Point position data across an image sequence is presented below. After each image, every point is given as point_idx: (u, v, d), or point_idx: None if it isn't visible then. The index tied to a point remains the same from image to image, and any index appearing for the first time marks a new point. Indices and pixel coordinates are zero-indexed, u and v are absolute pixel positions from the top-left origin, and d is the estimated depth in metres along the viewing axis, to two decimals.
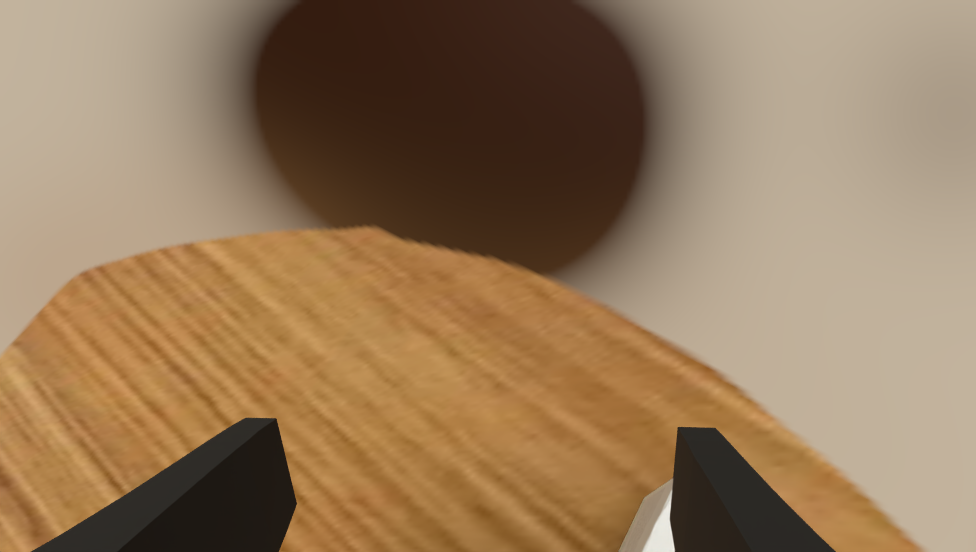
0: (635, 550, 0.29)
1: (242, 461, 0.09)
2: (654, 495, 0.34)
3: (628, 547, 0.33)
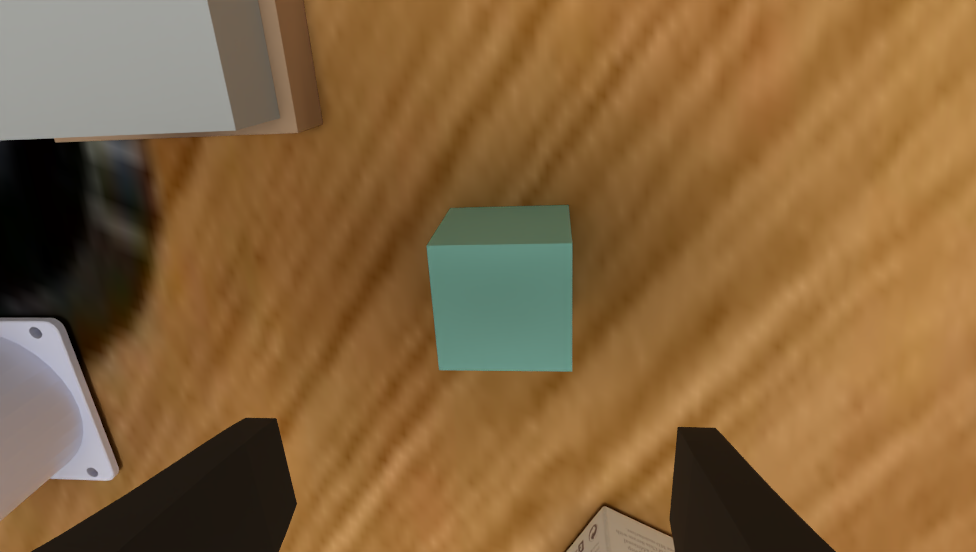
0: None
1: (242, 461, 0.09)
2: None
3: None
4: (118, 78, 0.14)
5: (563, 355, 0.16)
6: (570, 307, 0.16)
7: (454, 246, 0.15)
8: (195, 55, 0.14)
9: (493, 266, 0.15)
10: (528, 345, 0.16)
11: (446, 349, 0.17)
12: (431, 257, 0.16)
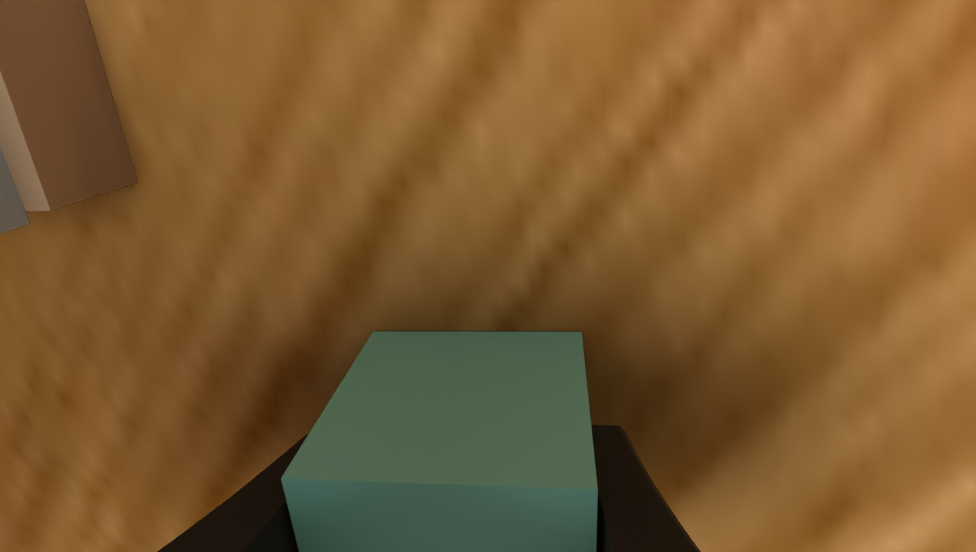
0: None
1: None
2: None
3: None
4: None
5: None
6: None
7: (339, 483, 0.07)
8: None
9: (425, 522, 0.07)
10: None
11: None
12: (294, 500, 0.07)
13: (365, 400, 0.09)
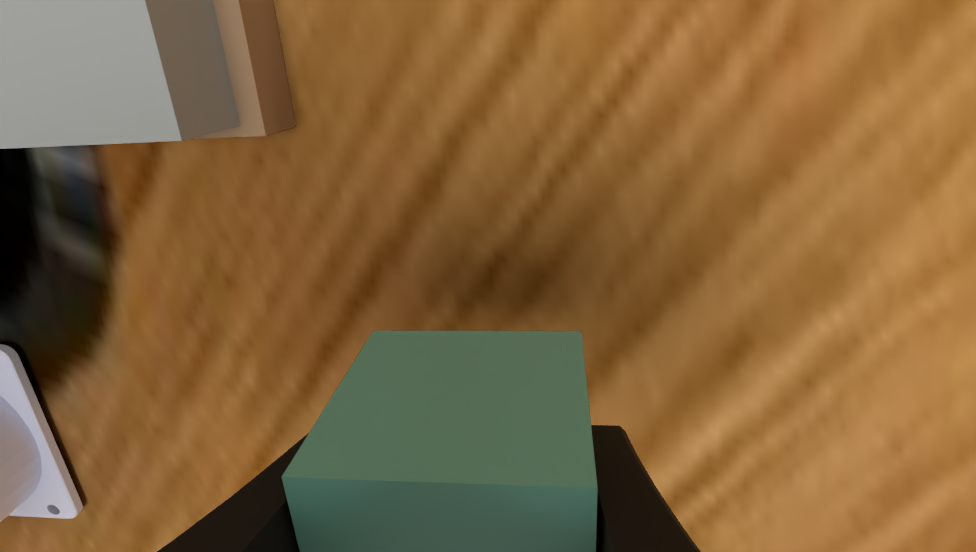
0: None
1: None
2: None
3: None
4: (43, 81, 0.12)
5: None
6: None
7: (341, 481, 0.07)
8: (132, 53, 0.12)
9: (425, 520, 0.07)
10: None
11: None
12: (295, 499, 0.07)
13: (365, 399, 0.09)
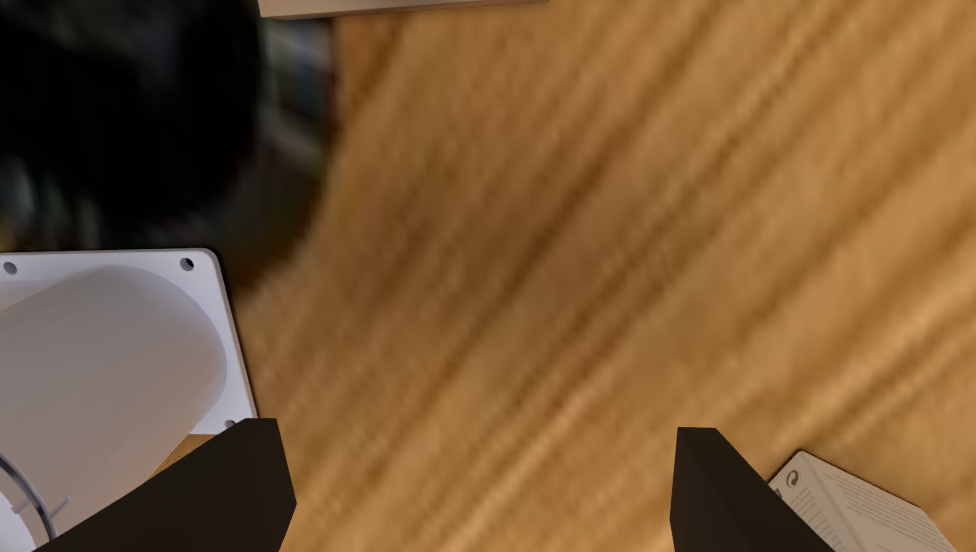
0: None
1: (242, 461, 0.09)
2: None
3: None
4: None
5: None
6: None
7: None
8: None
9: None
10: None
11: None
12: None
13: None
